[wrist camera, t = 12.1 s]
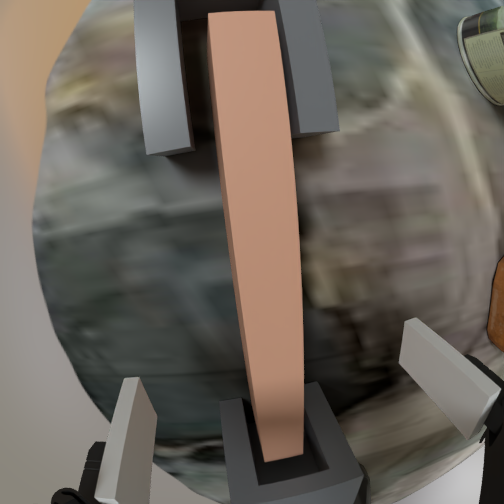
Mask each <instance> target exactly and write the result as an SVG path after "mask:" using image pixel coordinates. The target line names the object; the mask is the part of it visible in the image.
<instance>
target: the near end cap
mask: <svg viewBox="0 0 504 504" xmlns="http://www.w3.org/2000/svg"><path fill="white" fill-rule="evenodd" d="M233 11H275V17H276V24H277V30H278V37H279V43H280V50H281V58H282V65H283V72H284V80H285V88H286V96H287V105H288V114H289V123H290V132H291V139H292V138H303V137H308V136H314V135H319V134H325V133H330V132H336V131H340V129H339V121H338V114H337V106H336V99H335V93H334V86H333V80H332V74H331V68H330V63H329V57H328V52H327V47H326V42H325V37H324V32H323V28H322V23H321V19H320V15H319V10H318V6H317V2H316V0H134V31H135V50H136V65H137V77H138V88H139V99H140V108H141V117H142V125H143V133H144V140H145V147H146V154H147V155H155V156H169V155H174V154H179V153H185V152H191V151H196V150H195V143H194V135H193V128H192V120H191V113H190V105H189V97H188V89H187V80H186V72H185V63H184V53H183V44H182V33H181V23H180V22H181V21H188V20H195V19H202V18H208V13H218V12H233Z"/></svg>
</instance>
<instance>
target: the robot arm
mask: <svg viewBox="0 0 504 504" xmlns="http://www.w3.org/2000/svg"><path fill="white" fill-rule="evenodd" d="M399 364H400V365H401V366H402V367H403V368H404V369H405V370H406V371H407V373H408V374H409V375H410V376H411V377H412V378H413V379H414V380H415V381H416V382H417V384H418V385H419V386H420V387H421V388H422V389H423V390H424V391H425V392H426V394H427V395H428V396H429V397H430V398H431V399H432V400H433V401H434V403H435V404H436V405H437V406H438V407H439V408H440V409H441V410H442V412H443V413H444V414H445V415H446V416H447V417H448V418H449V420H450V421H451V422H452V423H453V424H454V425H455V426H456V428H457V429H458V430H459V431H460V432H461V433H462V435H463V436H464V437H465V438H466V439H467V440H469V439H471V438H472V437H473V436H475V435H476V434H478V433H479V432H480V430H481V428H482V427H483V425H484V424H485V425H486V426H487V429H486V430H485V432H484V434H483V436H482V437H481V439H480V442H479V443H482V441H483V440H484V438H485V442H484V443H485V454H484V467H483V477H482V486H481V494H480V500H479V504H504V381H503V380H502V379H501V378H500V377H499V376H497V375H496V374H495V373H494V372H493V371H491V370H489V368H488V367H487V366H485V365H483V363H482V362H481V361H479V360H478V359H477V358H475V357H473V356H470V355H468V354H467V355H465V356H463V355H462V354H460V353H459V352H458V351H457V350H456V349H455V348H453V347H452V346H451V345H450V344H448V343H447V342H446V341H445V340H444V339H442V338H441V337H440V336H439V335H437V334H436V333H435V332H434V331H433V330H431V329H430V328H429V327H428V326H426V325H425V324H424V323H423V322H421V321H420V320H419V319H418V318H416V317H415V318H413V319H410V320H407V321H405V323H404V331H403V338H402V345H401V352H400V358H399ZM156 423H157V415H156V413H155V411H154V409H153V407H152V404H151V402H150V400H149V398H148V396H147V394H146V391H145V389H144V387H143V385H142V382H141V380H140V378H139V377H134V378H124V381H123V384H122V388H121V391H120V394H119V398H118V401H117V405H116V408H115V412H114V415H113V419H112V423H111V427H110V430H109V434H108V438H107V442H95V443H94V444H93V446H92V447H91V448H90V449H89V452H88V455H87V459H86V460H87V462H86V463H85V467H84V468H85V469H84V470H83V474H82V478H81V482H80V486H79V490H78V491H76V490H74V489H72V488H63V489H59V490H58V491H57V492H55V494H54V495H53V497H52V500H51V504H149V499H150V484H151V472H152V461H153V450H154V441H155V432H156ZM359 466H360V468H361V470H362V472H363V474H364V476H363V479H362V482H361V485H360V488H359V490H358V493H357V496H356V498H355V501H354V503H353V504H371V490H370V479H369V476H368V474H367V472H366V470H365V468H364V467H363V466H362V465H360V464H359Z"/></svg>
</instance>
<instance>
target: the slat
mask: <svg viewBox="0 0 504 504" xmlns="http://www.w3.org/2000/svg"><path fill="white" fill-rule="evenodd" d="M207 65H208V75H209V85H210V95H211V105H212V114H213V123H214V132H215V141H216V150H217V159H218V168H219V176H220V184H221V193H222V201H223V209H224V217H225V225H226V232H227V240H228V248H229V255H230V262H231V270H232V277H233V284H234V291H235V298H236V305H237V312H238V319H239V326H240V333H241V339H242V346H243V353H244V359H245V366H246V372H247V378H248V385H249V391H250V397H251V403H252V408H253V413H254V417H255V422H256V427H257V431H258V436H259V440H260V444H261V449H262V453H263V457H264V462H269V461H274V460H279V459H284V458H289V457H293V456H297V455H302V454H303V433H304V346H303V308H302V282H301V261H300V243H299V227H298V213H297V199H296V186H295V174H294V163H293V152H292V142H291V132H290V123H289V114H288V105H287V96H286V88H285V80H284V72H283V65H282V58H281V50H280V43H279V37H278V30H277V24H276V17H275V11H233V12H218V13H208V32H207Z"/></svg>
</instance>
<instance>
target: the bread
mask: <svg viewBox="0 0 504 504" xmlns="http://www.w3.org/2000/svg"><path fill="white" fill-rule="evenodd" d="M487 331H488V335H489V339H490V340H491V341H492V342H493V343H494V344H495V345H496V346H497V347H498V348H499V349H500V350H501V351H503V352H504V257H503V258H502V259H501V260H500V262H499V263H498V267H497V271H496V275H495V279H494V283H493V288H492V297H491V305H490V313H489V321H488V327H487Z"/></svg>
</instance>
